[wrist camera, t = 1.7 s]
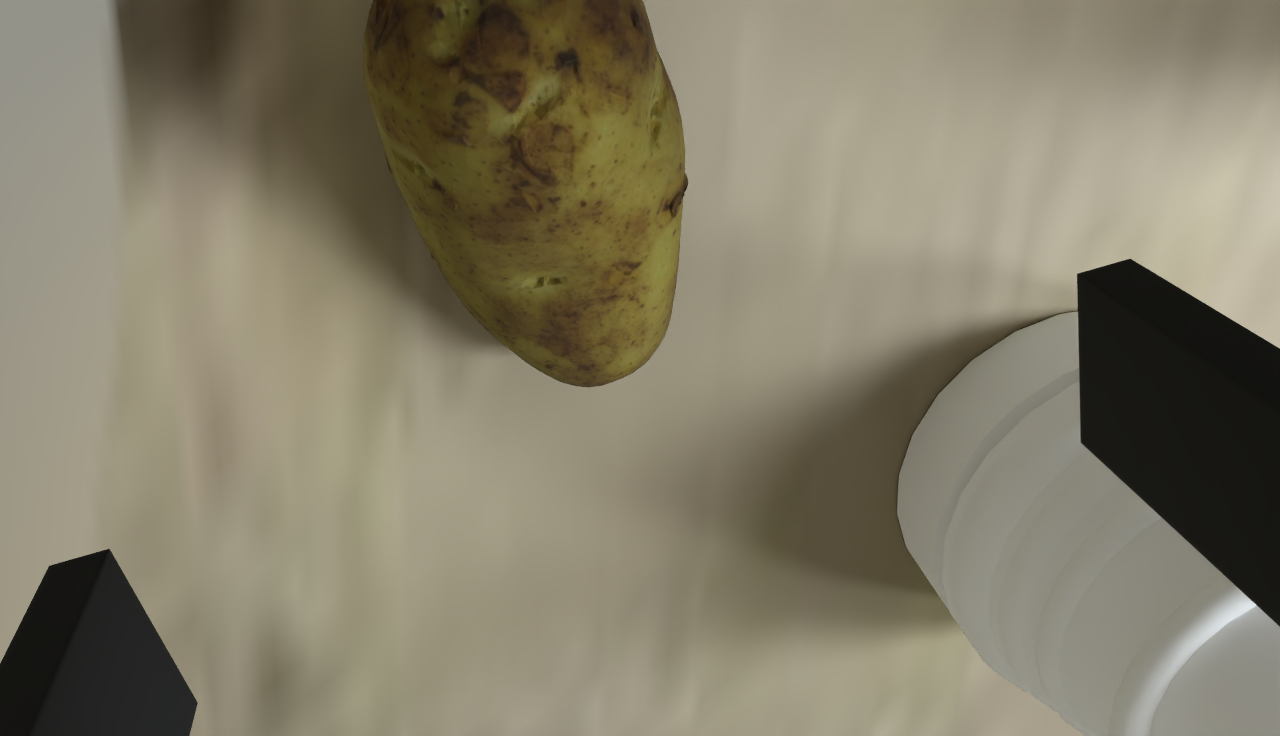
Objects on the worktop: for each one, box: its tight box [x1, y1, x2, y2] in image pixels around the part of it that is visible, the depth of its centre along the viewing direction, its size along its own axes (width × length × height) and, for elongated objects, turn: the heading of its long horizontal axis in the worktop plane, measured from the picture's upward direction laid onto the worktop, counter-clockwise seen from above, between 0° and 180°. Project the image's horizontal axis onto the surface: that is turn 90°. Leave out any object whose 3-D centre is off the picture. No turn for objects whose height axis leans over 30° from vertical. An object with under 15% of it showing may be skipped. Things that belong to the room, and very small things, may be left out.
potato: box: [363, 0, 688, 387], centre depth 27 cm, size 8×13×8 cm, turn 175°
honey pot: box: [897, 311, 1280, 736], centre depth 32 cm, size 13×13×18 cm
